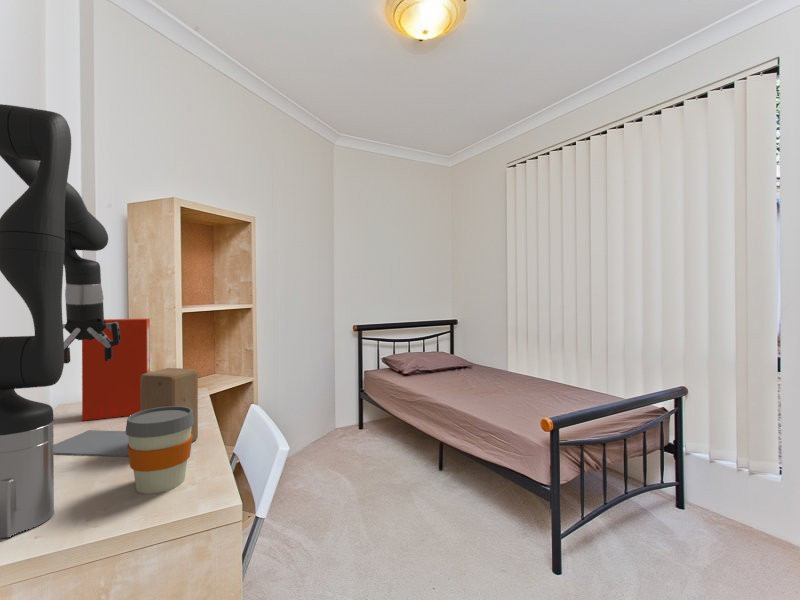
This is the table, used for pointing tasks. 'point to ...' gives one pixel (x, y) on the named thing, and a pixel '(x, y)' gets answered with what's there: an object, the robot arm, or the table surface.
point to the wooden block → (171, 391)
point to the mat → (94, 444)
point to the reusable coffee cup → (159, 447)
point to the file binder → (115, 371)
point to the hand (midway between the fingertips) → (87, 361)
